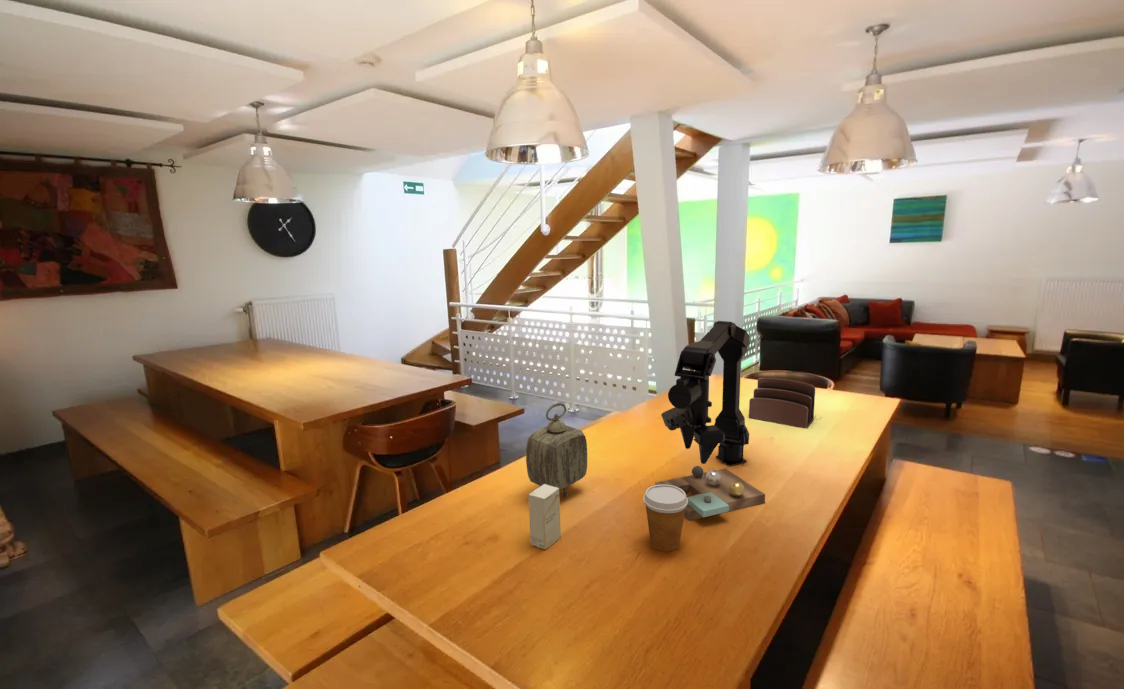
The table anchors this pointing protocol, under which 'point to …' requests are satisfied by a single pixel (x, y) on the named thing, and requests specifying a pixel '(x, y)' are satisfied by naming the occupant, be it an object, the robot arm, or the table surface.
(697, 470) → the matte grey ball
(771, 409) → the letter holder
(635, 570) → the table surface
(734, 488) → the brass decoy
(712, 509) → the cover
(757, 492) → the board
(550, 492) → the skincare box
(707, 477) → the steel ball
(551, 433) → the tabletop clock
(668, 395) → the robot arm
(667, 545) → the disposable coffee cup
